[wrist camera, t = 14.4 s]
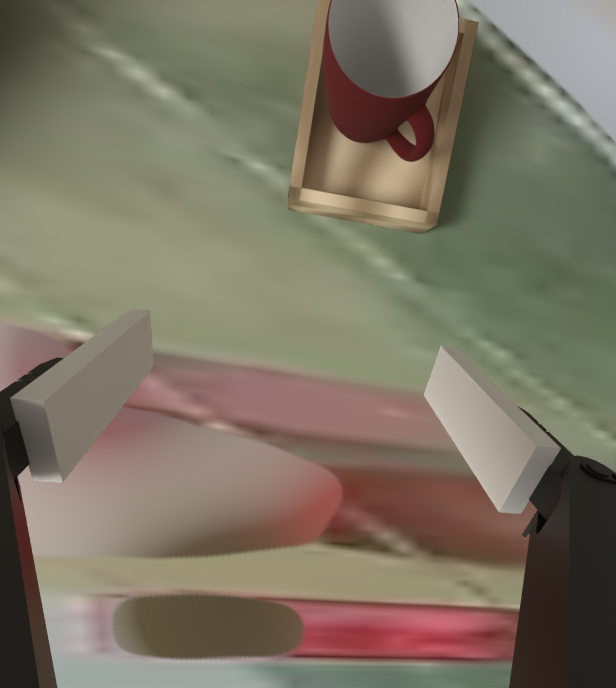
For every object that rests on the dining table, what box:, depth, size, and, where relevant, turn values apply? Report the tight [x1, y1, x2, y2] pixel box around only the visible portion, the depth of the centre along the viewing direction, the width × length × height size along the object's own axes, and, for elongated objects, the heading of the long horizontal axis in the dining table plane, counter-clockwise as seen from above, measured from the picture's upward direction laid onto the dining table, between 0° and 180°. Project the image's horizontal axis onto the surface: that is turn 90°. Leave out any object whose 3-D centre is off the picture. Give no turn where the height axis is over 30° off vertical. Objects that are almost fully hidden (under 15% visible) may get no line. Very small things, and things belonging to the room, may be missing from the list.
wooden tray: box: [288, 0, 479, 234], centre depth 29 cm, size 13×16×4 cm
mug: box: [323, 0, 459, 162], centre depth 25 cm, size 11×8×10 cm
